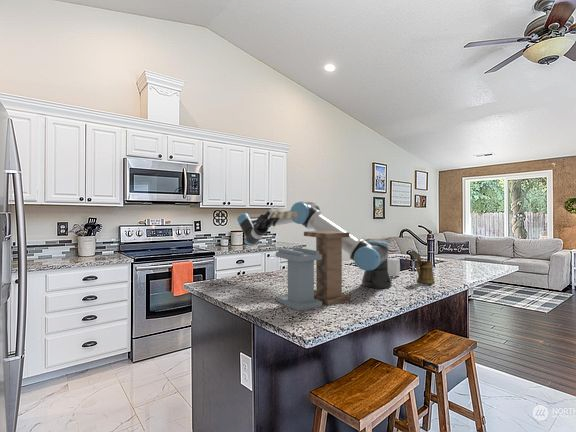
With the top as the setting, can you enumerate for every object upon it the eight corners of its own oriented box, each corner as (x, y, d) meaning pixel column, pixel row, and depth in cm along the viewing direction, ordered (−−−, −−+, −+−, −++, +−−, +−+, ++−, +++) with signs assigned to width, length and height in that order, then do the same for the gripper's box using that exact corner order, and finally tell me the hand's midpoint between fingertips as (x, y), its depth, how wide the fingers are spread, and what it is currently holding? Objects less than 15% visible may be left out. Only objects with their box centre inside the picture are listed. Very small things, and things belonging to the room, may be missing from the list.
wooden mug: (406, 281, 186) (406, 249, 186) (426, 280, 190) (426, 248, 190) (417, 284, 177) (417, 251, 177) (438, 283, 182) (438, 250, 181)
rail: (266, 217, 180) (266, 211, 180) (272, 217, 181) (272, 211, 181) (291, 218, 157) (291, 211, 157) (297, 218, 159) (297, 211, 159)
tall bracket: (304, 296, 156) (303, 231, 155) (324, 292, 162) (324, 230, 161) (327, 305, 140) (327, 233, 140) (349, 301, 146) (349, 232, 146)
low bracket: (275, 300, 148) (275, 248, 148) (298, 296, 154) (298, 247, 154) (297, 310, 132) (297, 252, 132) (322, 306, 139) (321, 250, 138)
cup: (402, 276, 200) (402, 259, 200) (384, 277, 197) (384, 260, 197) (394, 274, 208) (394, 257, 208) (377, 275, 205) (377, 258, 205)
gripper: (273, 235, 194) (291, 215, 176) (247, 236, 186) (263, 215, 168) (270, 223, 197) (288, 203, 179) (245, 224, 189) (260, 203, 171)
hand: (276, 209), depth 174 cm, fingers closed on rail, 3 cm apart
